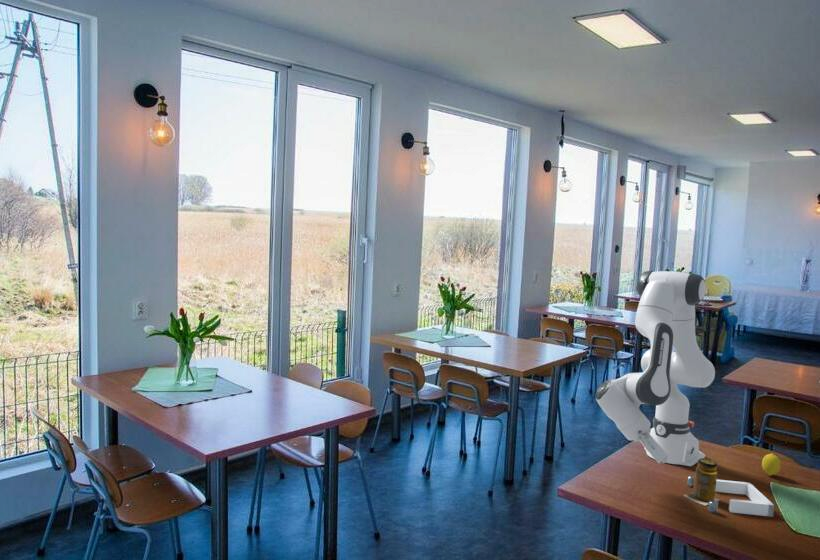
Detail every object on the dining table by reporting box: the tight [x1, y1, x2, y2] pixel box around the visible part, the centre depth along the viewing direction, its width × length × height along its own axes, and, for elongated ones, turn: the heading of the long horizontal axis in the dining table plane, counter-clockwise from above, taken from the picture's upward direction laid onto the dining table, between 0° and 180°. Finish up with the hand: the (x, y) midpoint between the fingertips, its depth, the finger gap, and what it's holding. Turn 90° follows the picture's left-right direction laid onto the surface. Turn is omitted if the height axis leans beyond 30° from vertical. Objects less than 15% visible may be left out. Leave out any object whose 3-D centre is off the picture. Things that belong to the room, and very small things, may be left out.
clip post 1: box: [686, 475, 695, 489], centre depth 197 cm, size 2×2×3 cm
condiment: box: [682, 458, 720, 506], centre depth 188 cm, size 7×8×12 cm
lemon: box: [761, 452, 781, 477], centre depth 210 cm, size 6×6×8 cm
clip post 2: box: [707, 500, 719, 515], centre depth 179 cm, size 2×2×3 cm
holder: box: [715, 478, 775, 518], centre depth 187 cm, size 12×16×4 cm
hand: (664, 460), depth 188 cm, fingers closed
